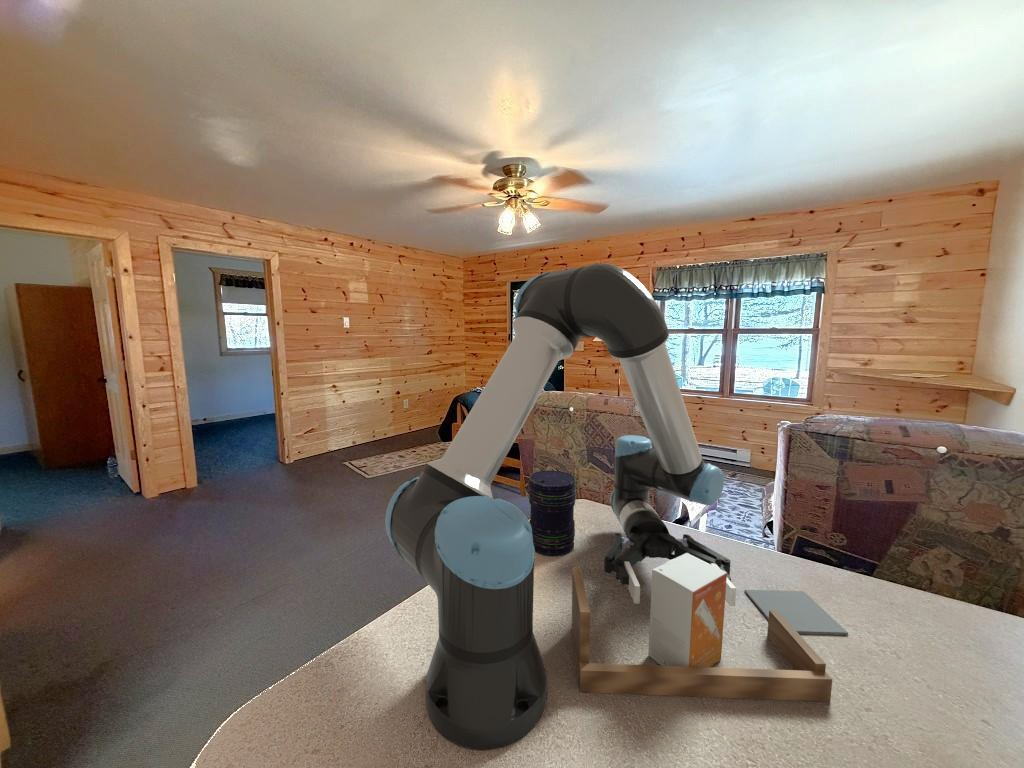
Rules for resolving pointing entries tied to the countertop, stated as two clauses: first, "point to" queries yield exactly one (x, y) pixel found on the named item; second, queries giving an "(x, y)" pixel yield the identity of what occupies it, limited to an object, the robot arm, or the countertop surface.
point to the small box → (687, 612)
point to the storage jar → (552, 512)
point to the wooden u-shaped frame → (702, 681)
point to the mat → (796, 611)
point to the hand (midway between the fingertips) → (685, 596)
